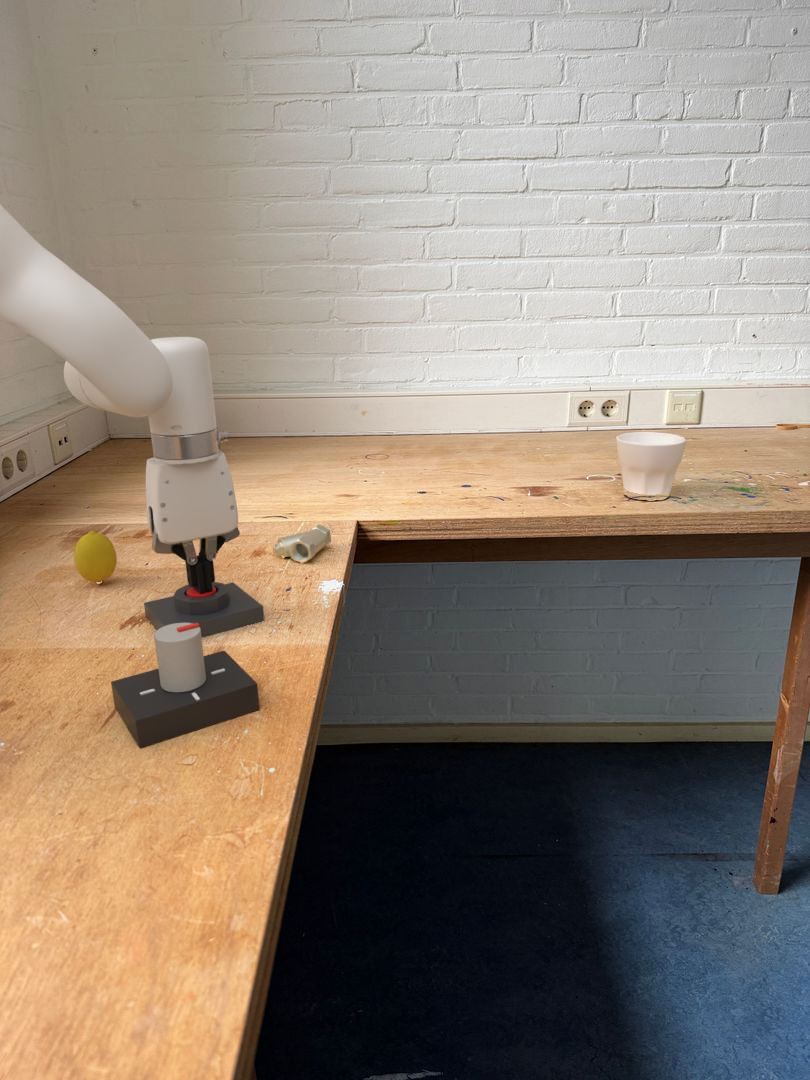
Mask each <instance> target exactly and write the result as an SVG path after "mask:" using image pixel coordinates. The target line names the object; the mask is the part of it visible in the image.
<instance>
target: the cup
mask: <svg viewBox="0 0 810 1080" xmlns="http://www.w3.org/2000/svg"><path fill="white" fill-rule="evenodd" d="M615 438H616V449H617V460H618V461H619V463H620V469H621V477H622V485H623V489H624V488H625V489H626V490H627V491H629V492H633V493H638V494H644V495H645V494H646V495H650V494H651V495H656V494H664V493H667V492H669V491H671V490H672V487H673V484H674V480H675V476H676V474H677V469H678V468H679V466H680V465H681V463H682V460H683V456H684V452H685V447H686V443H687V440H686V439H685V437H684V436H681V435H678V434H674V433H667V432H657V431H633V432H625V433H620V434H619V435H617V436H615ZM671 492H672V491H671Z"/></svg>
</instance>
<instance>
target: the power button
mask: <svg viewBox="0 0 810 1080" xmlns="http://www.w3.org/2000/svg"><path fill="white" fill-rule="evenodd" d="M212 588H213V591H211V592H208V591H207V592H204V593H203V594H199V593H198V592H197V591H196V590H195V589H194V588H193V587H191V588H189V589H188V590H187V592H186V593H187V597H192V598H203V597H207V596H211V595H213V594H215V593H216V588H215V587H214V586H212Z"/></svg>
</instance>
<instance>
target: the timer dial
mask: <svg viewBox="0 0 810 1080" xmlns="http://www.w3.org/2000/svg"><path fill="white" fill-rule="evenodd" d="M153 638H154V639H153V640H154V646H155V654H156V661H157V669H159V677H160V684H161V687H162V688H163V689H164V690H166V691H168V692H176V693H177V692H186V691H191V690H194V689H196V688H198V687H200V686H201V685H203V684H204V682H205V681H206V673H205V664H204V656H205V655H204V648H203V647H204V646H203V638H201V629H200V626H199V624H198V623H194V624H193V623H175V624H170V625H167V626H164V627H162V628H160V629H158V630H156V631H155V632H154V634H153Z"/></svg>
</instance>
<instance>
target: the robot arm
mask: <svg viewBox="0 0 810 1080" xmlns="http://www.w3.org/2000/svg"><path fill="white" fill-rule="evenodd" d="M0 320H1V321H2V322H5V323H6V324H8V325H11V326H13V327H15V328H17V329H19V330H22V331H23V332H25V333H27V334H28V335H31V336H32V337H34V339H36V340H38V341H39V342H40V343H42V344H44V345H46V346H47V347H48V348H50V349H51V350H52V351H54V352H55V353H56V354H58V356H60V357H61V358H62V359H63V360H65V363H64V366H63V379H64V383H65V385H66V387H67V389H68V391H69V393H70V394H71V395H72V396H73V397H74V398H76V400H78V401H79V402H81V403H82V404H84V405H86V406H88V407H90V408H92V409H93V408H94V409H96V410H101V411H105V412H110V413H115V414H118V415H123V416H124V417H125V416H126V417H131V418H143V417H144V418H145V417H148V425H149V431H150V438H151V446H152V454H153V457H150V458H148V459H146V464H145V465H146V466H145V504H146V520H147V527H148V530H149V533H150V535H152V542H151V549H152V551H153V552H154V553H156V554H157V555H158V554H160V555H164V554H165V555H176V556H177V557H179V558H180V559H182V560H183V561H184V562H185V570H186V578H187V585H189V586H190V587H193V588H194V589H195V590H196V591H197V592H198V593H199V594H203V593H204V592H207V591H208V592H211V591H213V588H212V582H216V576H215V567H214V561H215V560H216V558H217V554H218V552H219V551H220V550H221V548H223V546H224V544H225V543H228V542H230V541H232V540H235V539H236V538H239V537H240V533H241V532H240V530H239V526H238V525H239V511H238V504H237V498H236V492H235V487H234V483H233V479H232V474H231V471H230V468H229V464H228V461H227V457H226V455H225V453H224V452H223V451H222V450H221V444H223V443H224V442H229V440H230V434H229V432H228V430H227V429H226V430H225V429H224V430H221V429H219V427H217V419H216V418H217V417H216V409H215V407H216V406H215V399H214V389H213V379H212V369H211V360H210V352H209V348H208V345H207V344H206V342H205V341H204V340H202V339H201V338H199V337H194V336H168V337H158V338H152V339H150V338H149V336H147V335H146V334H145V333H144V332H143V331H142V329H140V327H138V325H137V324H136V323H135V322H134V321H133V320H132V319H131V318H130V317H129V316H128V315H127V314H126V313H125V312H124V311H123V310H122V308H120V307H119V305H117V304H115V302H114V301H112V299H110V298H109V297H108V296H107V295H105V294H104V293H103V292H102V291H100V290H99V289H98V288H97V287H95V286H94V285H93V284H92V283H91V282H89V281H88V280H86V279H85V278H84V277H83V276H81V275H80V274H78V273H77V272H76V271H75V270H73V268H71V267H70V266H69V265H68V264H66V263H65V262H64V261H62V260H61V259H60V258H59V257H57V256H56V255H55V254H53V253H52V252H51V251H49V250H48V249H46V248H45V247H44V246H43V245H42V244H40V242H39V241H37V240H36V239H35V238H34V237H33V235H31V234H30V233H29V232H28V231H27V230H26V229H25V228H24V227H23V226H22V225H21V223H19V222H18V220H16V218H15V217H14V216H13V215H11V213H10V212H9V211H8V210H7V209H6V208H5V207H4V206H3V205H2V204H1V203H0ZM196 540H199V546H198V547H199V548H198V551H199V552H198V554H197V551H196V548H195V545H194V541H196Z"/></svg>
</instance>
